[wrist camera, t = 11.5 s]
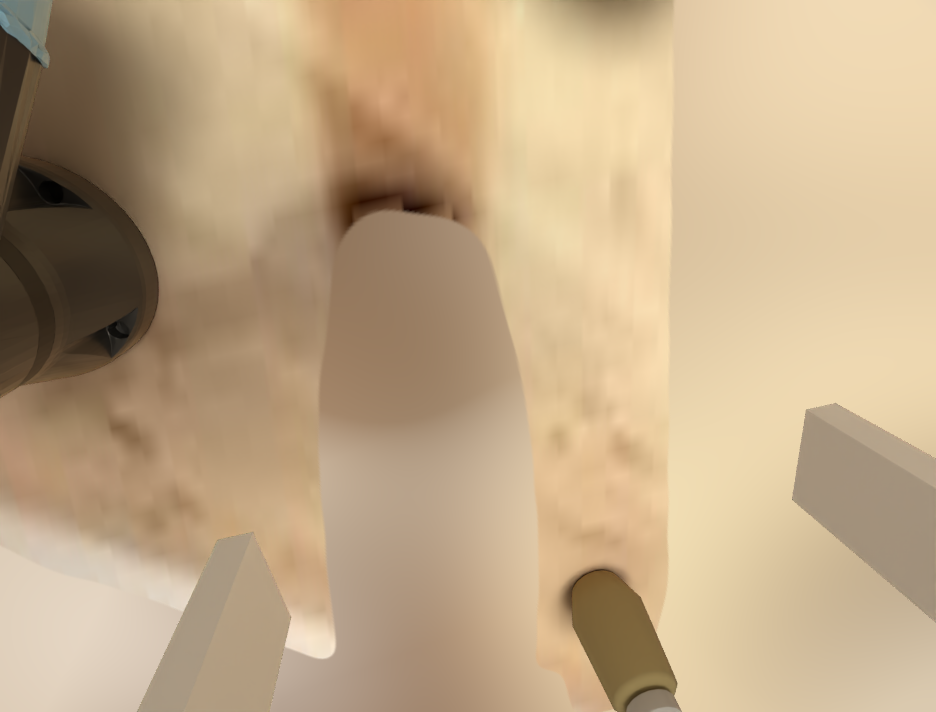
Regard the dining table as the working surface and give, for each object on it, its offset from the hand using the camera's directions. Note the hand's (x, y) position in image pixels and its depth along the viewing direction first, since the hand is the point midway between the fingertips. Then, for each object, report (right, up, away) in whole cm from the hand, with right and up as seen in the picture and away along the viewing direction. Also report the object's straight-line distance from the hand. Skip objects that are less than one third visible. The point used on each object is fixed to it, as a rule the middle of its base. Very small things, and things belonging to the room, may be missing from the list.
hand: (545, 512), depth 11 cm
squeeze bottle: (+13, -23, +43) cm, 51 cm away
